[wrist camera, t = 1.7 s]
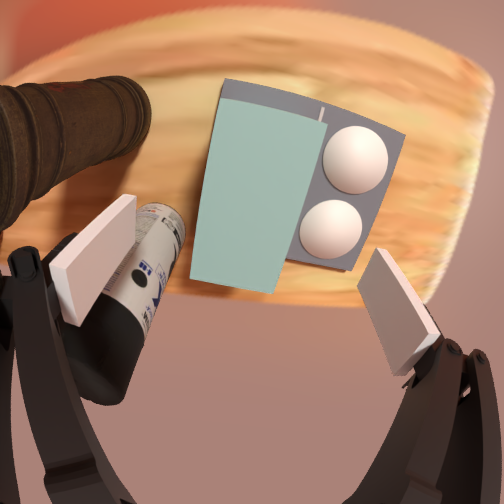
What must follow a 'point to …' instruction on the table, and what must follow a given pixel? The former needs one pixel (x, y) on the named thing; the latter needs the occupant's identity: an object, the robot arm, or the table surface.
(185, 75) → the table surface
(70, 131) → the container
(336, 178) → the slate board
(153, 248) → the spray can
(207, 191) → the pale green block
